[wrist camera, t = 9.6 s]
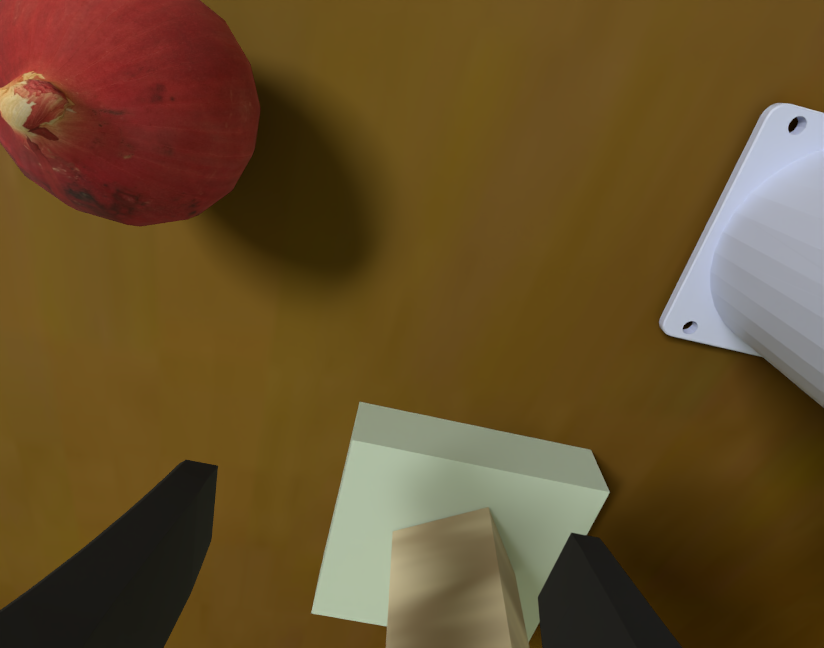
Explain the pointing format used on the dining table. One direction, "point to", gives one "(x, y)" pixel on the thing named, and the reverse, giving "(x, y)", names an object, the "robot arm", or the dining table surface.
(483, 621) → the beech block
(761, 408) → the dining table surface
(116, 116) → the onion
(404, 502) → the stacking block
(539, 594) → the robot arm
